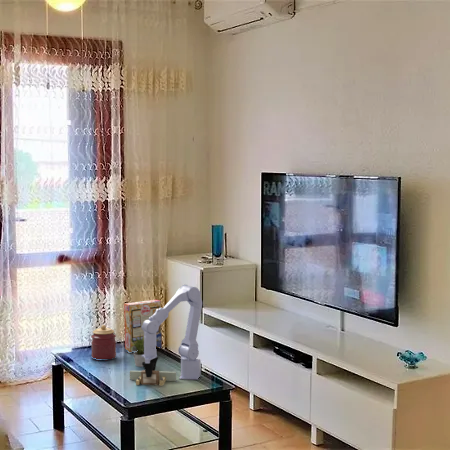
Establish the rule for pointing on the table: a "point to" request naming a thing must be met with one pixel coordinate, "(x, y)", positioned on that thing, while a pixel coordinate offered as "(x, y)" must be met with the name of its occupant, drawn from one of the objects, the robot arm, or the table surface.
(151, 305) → the board game box
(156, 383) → the frame
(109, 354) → the canister
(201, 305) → the robot arm
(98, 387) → the table surface
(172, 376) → the ledge
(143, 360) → the house plant
